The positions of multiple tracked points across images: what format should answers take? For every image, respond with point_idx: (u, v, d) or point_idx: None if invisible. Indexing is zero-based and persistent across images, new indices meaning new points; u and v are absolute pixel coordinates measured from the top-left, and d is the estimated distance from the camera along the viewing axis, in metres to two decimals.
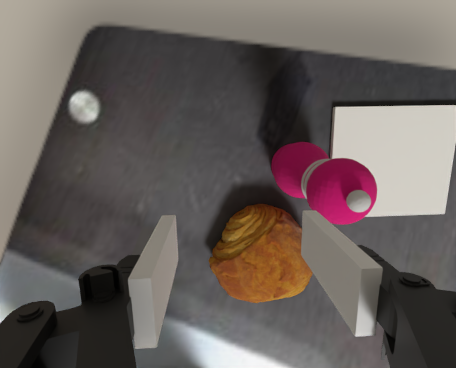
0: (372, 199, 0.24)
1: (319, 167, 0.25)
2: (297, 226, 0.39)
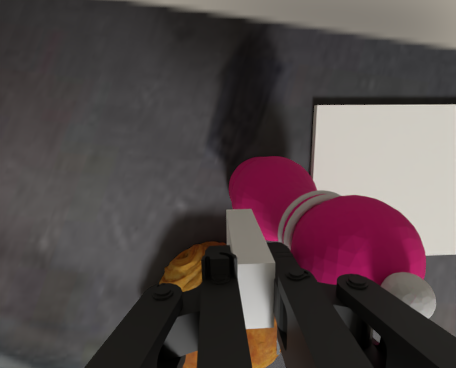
0: None
1: (316, 215, 0.13)
2: None
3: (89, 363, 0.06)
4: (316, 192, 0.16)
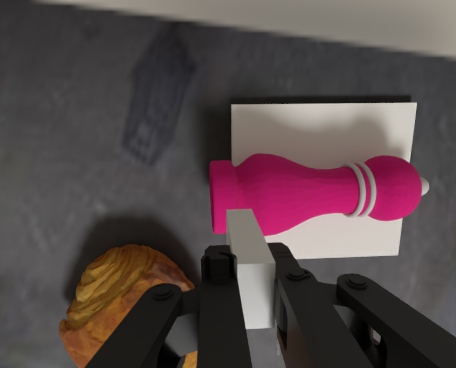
0: None
1: (400, 166, 0.24)
2: (178, 280, 0.27)
3: (89, 363, 0.06)
4: (353, 163, 0.25)
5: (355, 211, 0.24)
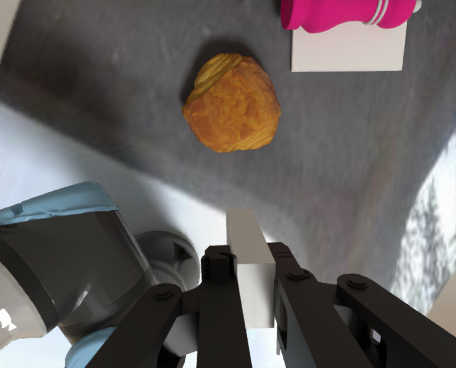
0: None
1: None
2: (263, 70, 0.42)
3: (89, 363, 0.06)
4: None
5: (375, 11, 0.39)
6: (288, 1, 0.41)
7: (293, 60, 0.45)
